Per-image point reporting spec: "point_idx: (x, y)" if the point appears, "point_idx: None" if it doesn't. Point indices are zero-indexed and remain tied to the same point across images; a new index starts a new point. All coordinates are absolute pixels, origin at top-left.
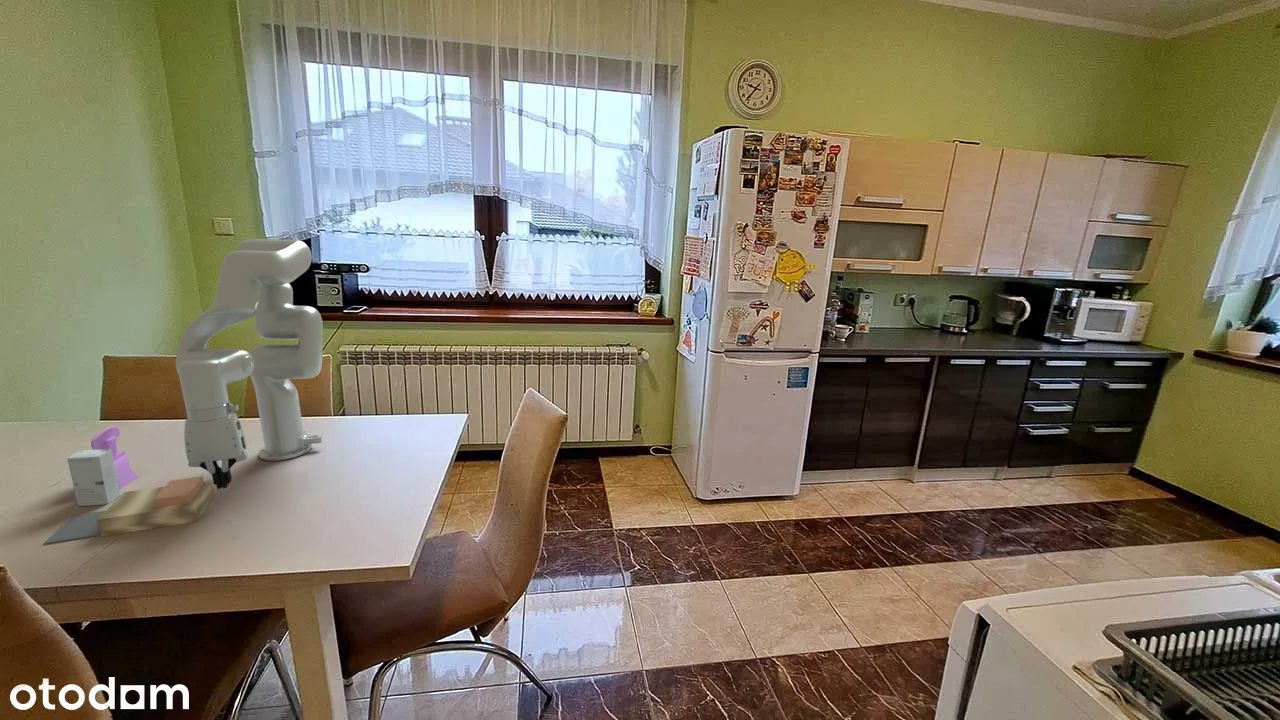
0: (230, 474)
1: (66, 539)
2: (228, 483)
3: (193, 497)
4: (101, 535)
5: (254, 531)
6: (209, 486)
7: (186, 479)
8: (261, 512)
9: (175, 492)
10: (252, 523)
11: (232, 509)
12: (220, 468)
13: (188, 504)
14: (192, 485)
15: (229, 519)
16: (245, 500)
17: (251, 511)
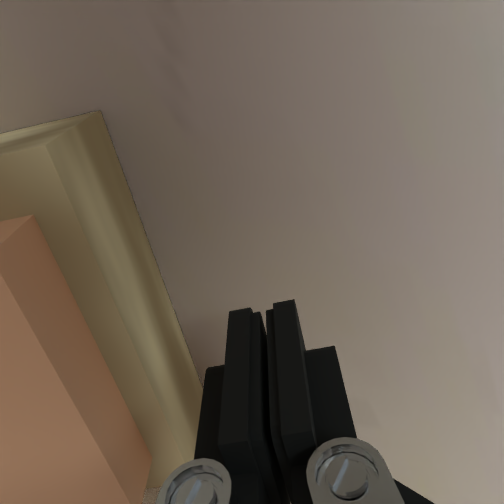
0: (344, 391)
1: None
2: (300, 328)
3: (131, 425)
4: None
5: (496, 483)
6: (88, 211)
7: None
8: (494, 358)
9: (13, 487)
10: (473, 436)
11: (326, 312)
12: (252, 458)
13: (154, 472)
14: (52, 413)
15: (353, 396)
16: (360, 218)
17: (438, 343)
